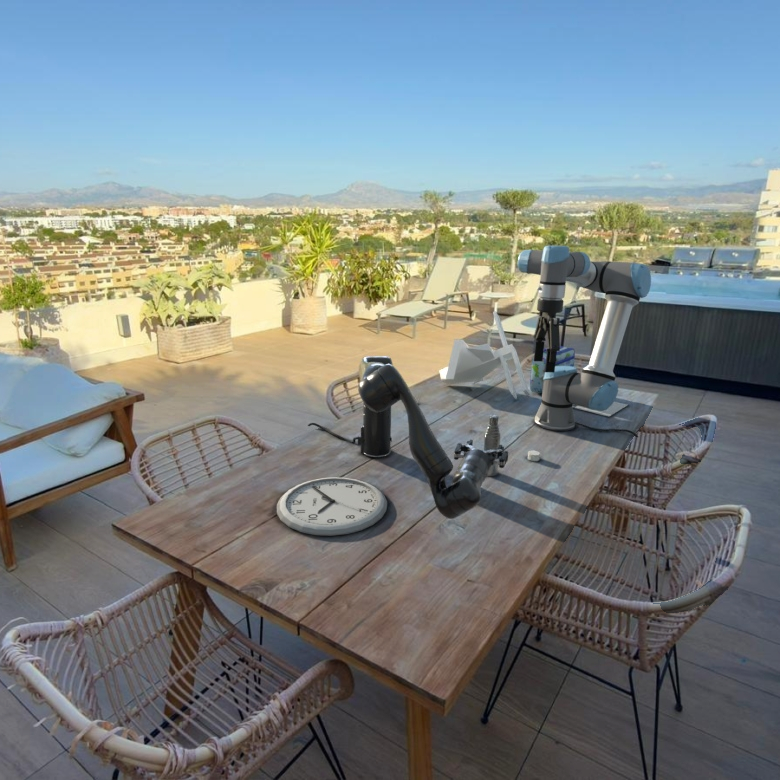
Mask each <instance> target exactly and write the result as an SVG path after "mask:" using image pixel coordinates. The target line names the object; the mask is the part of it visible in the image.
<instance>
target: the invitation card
mask: <svg viewBox="0 0 780 780" xmlns="http://www.w3.org/2000/svg"><path fill="white" fill-rule="evenodd" d="M628 406H629V404H627V403H623V402H618V401H614V402H613V404H612V405H611V406H610V407H609V408H608V409H606V410H604V411H598V410H592V409H589V408H586V407H582V406H579V405H575V406H574V407H573V409H575V410H581V411H584V412H587V413H593V414H596V415H600V416H604V417H608V418H609V417H611V416H613V415H614V414H616V413H617V412H619V411H621V410H623V409H624V408H626V407H628Z"/></svg>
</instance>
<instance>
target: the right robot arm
mask: <svg viewBox="0 0 780 780" xmlns="http://www.w3.org/2000/svg"><path fill="white" fill-rule="evenodd" d="M517 268H518V270H519V272H521V273H523V274H528V275H530V274H531V275H538V276H540V279H539V286H538V287H536V289H537V291H538V297H539V298H538V299H537V303H536V304H537V306H536V311H538V318H537V322H536V326H535V330H534V334H533V338H534V341H535V344H534V353H533V354H534V355H533V357H534V361H543V352H544V349H546V352H547V356H546V365H545V374H544V378H543V380H544V381H543V391H542V393H541V402H540V405H539V407H538V410H537V411H536V413H535V416H534V424H535V425H536V426H537V427H539V428H542V429H544V430H549V431H556V432H567V431H572V430H574V429H575V428H576V425H577V426H581V427H583V428H586V429H589V430H592V431H597V432H624V433H629V434H632V435H633V436H634V437H635V438H639V436H638V434H637V433H635V432H634V431H632V430H629V429H622V428H605V429H604V428H597V427H592V426H589V425H586V424H584V423H581V422H577V421H576V418H575V417H576V416H575V413H574V407H573V405H575V406H578V405H579V406H582V407H586V408H589V409H592V410H598V411H604V410H606V409H608V408H609V407H610V406H611V405H612V404H613V402H616V401H615V400H616V399H617V396H618V394H619V389H620V388H619V383H618V382H616V381H617V380H616V377H617V376H616V374H615V373H614V368H615V365H616V363H617V359H618V355H619V353H620V350H621V349H620V348H621V346H622V344H623V343H622V342H623V339H624V336H625V333H626V329H627V326H628V323H629V319H630V316H631V313H632V310H633V308H634V307H635V306H637V305H639V303H640V300H641V299H643V298H646V297H647V296H648V294H649V293H650V290H651V286H652V274H651V270H650V268H649V266H648V265H646V264H645V263H638V262H635V261H633V262H628V261H627V262H626V261H625V262H624V261H610V260H609V261H608V260H603V261H602V260H597V261H595V260H594V261H591V259H590V257H589V255H588V254H587V253H585V252H583V251H570V247H569V245H568V246H567V245H545V246H544V247H543V249H542V250H540V249H539V250H538V249H523V250H522V251H521V252H520V253H519V255H518V258H517ZM567 282H569V283H573V285H574V286H576V287H579V288H582V289H586V290H589V291H592V292H596V293H599V294H604V298H605V300H606V306H605V309H604V312H603V316H602V319H601V322H600V326H599V329H598V331H597V334H596V338H595V342H594V345H593V349H592V351H591V355H590V359H589V362H588V364H587V366H584V367H583V368H582V369H581V372H580V373H579V372H578V368H577V367H576V366H574V367H572V366H555V363H556V354H557V351H560V346H561V339H560V338H561V337H560V321H561V320H560V317H557V314H560V313H562V312H563V311H564V302H565V301H564V298H565V295H566V286H567V284H566V283H567ZM545 342H547V348H548V349H547V348H545Z"/></svg>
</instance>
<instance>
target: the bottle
mask: <svg viewBox="0 0 780 780" xmlns="http://www.w3.org/2000/svg"><path fill="white" fill-rule="evenodd" d="M499 419H500V417H499V415H497V414H490V415H489V423H488V424H487V428H486V430H485V432H484V433H485V434H484V443H483V451H488V450H492V449H494V450H498V447H499V445H501V431H500V427H499V426H500V425H499ZM496 456H497V455H496ZM498 469H499V465H498V464H493V465H491V467H490V470H489V472H488V475H487V477H496V476H497V475H498Z"/></svg>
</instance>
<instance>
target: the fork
mask: <svg viewBox="0 0 780 780" xmlns="http://www.w3.org/2000/svg"><path fill="white" fill-rule="evenodd" d="M420 399H421V397H420V396H415V400H416V402H417V404H419V402H420Z"/></svg>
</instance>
